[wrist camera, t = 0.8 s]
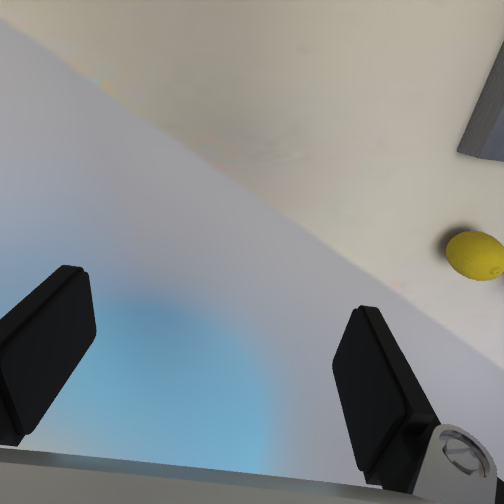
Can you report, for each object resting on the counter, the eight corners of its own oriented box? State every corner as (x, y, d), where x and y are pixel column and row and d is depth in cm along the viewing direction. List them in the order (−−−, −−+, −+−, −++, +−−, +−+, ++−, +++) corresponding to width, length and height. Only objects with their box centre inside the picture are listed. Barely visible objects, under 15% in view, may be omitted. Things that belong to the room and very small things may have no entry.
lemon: (434, 262, 42) (470, 297, 35) (433, 227, 39) (471, 257, 32) (477, 252, 41) (522, 286, 34) (479, 216, 38) (528, 244, 31)
